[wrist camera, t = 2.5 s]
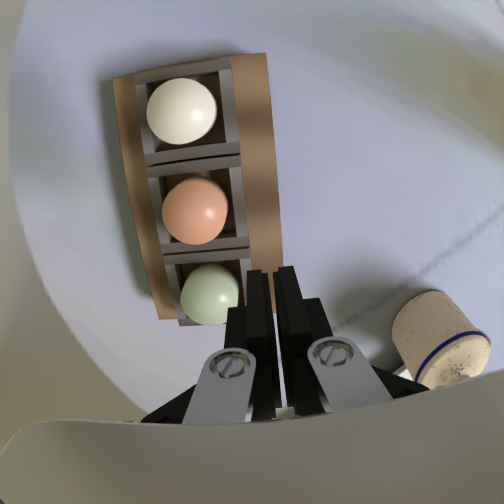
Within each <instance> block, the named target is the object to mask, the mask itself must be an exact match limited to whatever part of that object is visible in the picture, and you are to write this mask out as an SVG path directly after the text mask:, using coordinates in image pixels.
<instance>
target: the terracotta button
mask: <svg viewBox="0 0 504 504" xmlns="http://www.w3.org/2000/svg"><path fill="white" fill-rule="evenodd" d="M227 212H228V198H227V195H226V193H225V191H224V189H223V188H222V187H221V186H220V184H218V183H217V182H216V181H214V180H213V179H211V178H208V177H204V176H193V177H189V178H186V179H184V180H183V181H181V182H180V183H179V184H178V185H177V186H176V187H175V188H174V189H173V190H171V191H170V193H169V194H168V195H167V197H166V198H165V200H164V203H163V207H162V218H163V222H164V224H165V227H166V228H167V230H168V231H169V233H170V234H171V235H172V236H173V237H175V238H176V239H177V240H179V241H181V242H184V243H187V244H192V245H198V244H204V243H207V242H209V241H211V240H213V239H214V238H215V237H216V236H217V235H218V234H219V233H220V232H221V230H222V228H223V226H224V223H225V220H226V216H227Z"/></svg>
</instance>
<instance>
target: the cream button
mask: <svg viewBox="0 0 504 504" xmlns="http://www.w3.org/2000/svg"><path fill="white" fill-rule="evenodd" d="M217 112H218V108H217V102H216V99H215V97H214V96H213V94H212V93H211V92H210V90H208V89H207V88H206V87H205V86H203V85H201V84H200V83H198V82H196V81H194V80H191V79H186V78H178V79H173V80H170V81H167V82H165V83H163V84H162V85H161V86H159V87H158V88H157V89H156V90H155V91H154V93H153V94H152V96H151V97H150V99H149V102H148V105H147V121H148V124H149V126H150V128H151V130H152V131H153V133H154V134H155V135H156V136H157V137H158V138H160V139H161V140H163V141H165V142H168V143H171V144H185V143H189V142H192V141H194V140H197V139H199V138H201V137H203V136H204V135H206V134H207V133H208V132H209V131H210V130H211V128H212V127H213V125H214V123H215V121H216V118H217Z"/></svg>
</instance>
